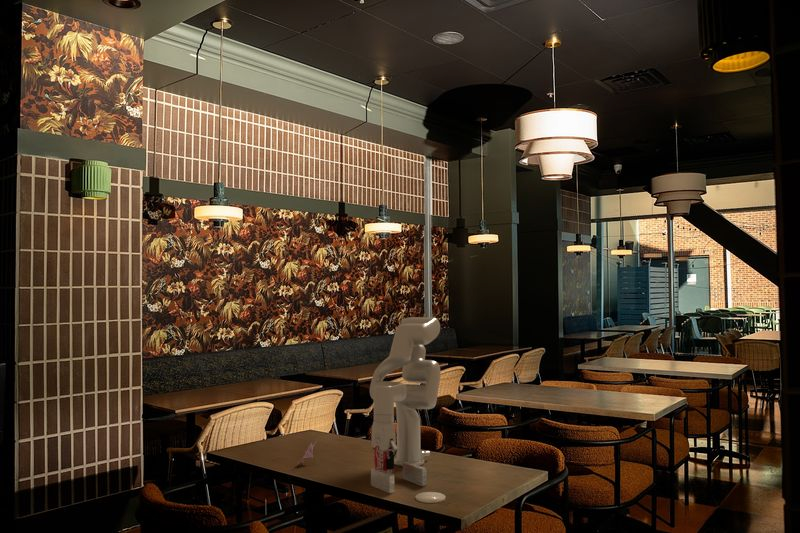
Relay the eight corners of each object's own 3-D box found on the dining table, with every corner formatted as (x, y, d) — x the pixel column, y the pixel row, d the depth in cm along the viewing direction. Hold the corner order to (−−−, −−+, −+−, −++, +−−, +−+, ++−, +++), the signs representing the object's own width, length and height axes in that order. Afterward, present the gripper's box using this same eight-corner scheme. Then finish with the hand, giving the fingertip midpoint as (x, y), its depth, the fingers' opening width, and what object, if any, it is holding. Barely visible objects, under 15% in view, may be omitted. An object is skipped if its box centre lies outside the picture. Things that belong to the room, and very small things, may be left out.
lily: (315, 461, 268) (304, 441, 268) (333, 454, 261) (321, 434, 261) (297, 477, 258) (285, 456, 258) (315, 470, 251) (303, 449, 251)
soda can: (371, 476, 235) (371, 443, 236) (380, 471, 241) (380, 439, 242) (388, 479, 232) (387, 445, 232) (397, 474, 238) (397, 441, 239)
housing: (407, 477, 238) (407, 461, 239) (426, 485, 229) (426, 468, 229) (370, 485, 229) (370, 468, 230) (389, 493, 219) (389, 475, 220)
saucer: (433, 491, 221) (433, 490, 221) (451, 499, 213) (451, 497, 213) (409, 497, 215) (409, 495, 215) (427, 505, 207) (427, 503, 207)
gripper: (363, 416, 243) (363, 463, 242) (388, 423, 228) (388, 473, 228) (379, 413, 247) (380, 460, 246) (405, 420, 233) (406, 470, 232)
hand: (384, 466), depth 237 cm, fingers closed on soda can, 7 cm apart
